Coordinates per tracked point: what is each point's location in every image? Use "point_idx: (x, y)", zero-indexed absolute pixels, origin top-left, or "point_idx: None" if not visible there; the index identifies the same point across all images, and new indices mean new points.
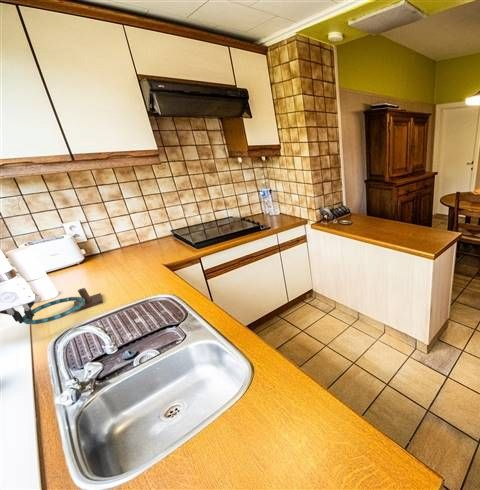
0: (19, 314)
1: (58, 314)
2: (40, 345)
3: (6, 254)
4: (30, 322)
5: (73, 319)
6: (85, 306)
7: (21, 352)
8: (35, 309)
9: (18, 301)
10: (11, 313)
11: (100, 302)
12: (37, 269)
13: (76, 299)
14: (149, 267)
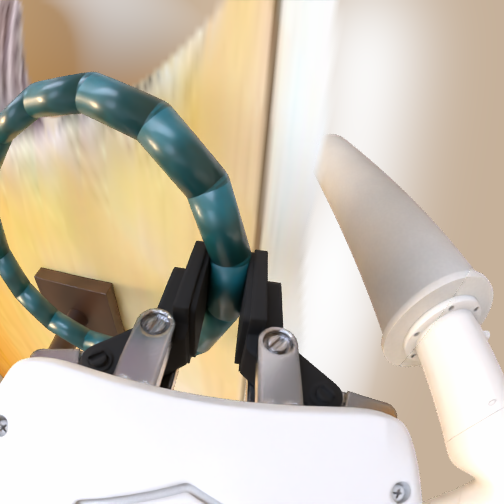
0: (239, 329)
1: (25, 99)
2: (238, 50)
3: None
4: (192, 141)
5: (107, 218)
6: (76, 283)
7: (316, 66)
8: None
9: (114, 450)
10: (277, 349)
11: (43, 271)
12: None
13: (19, 282)
14: (16, 357)
